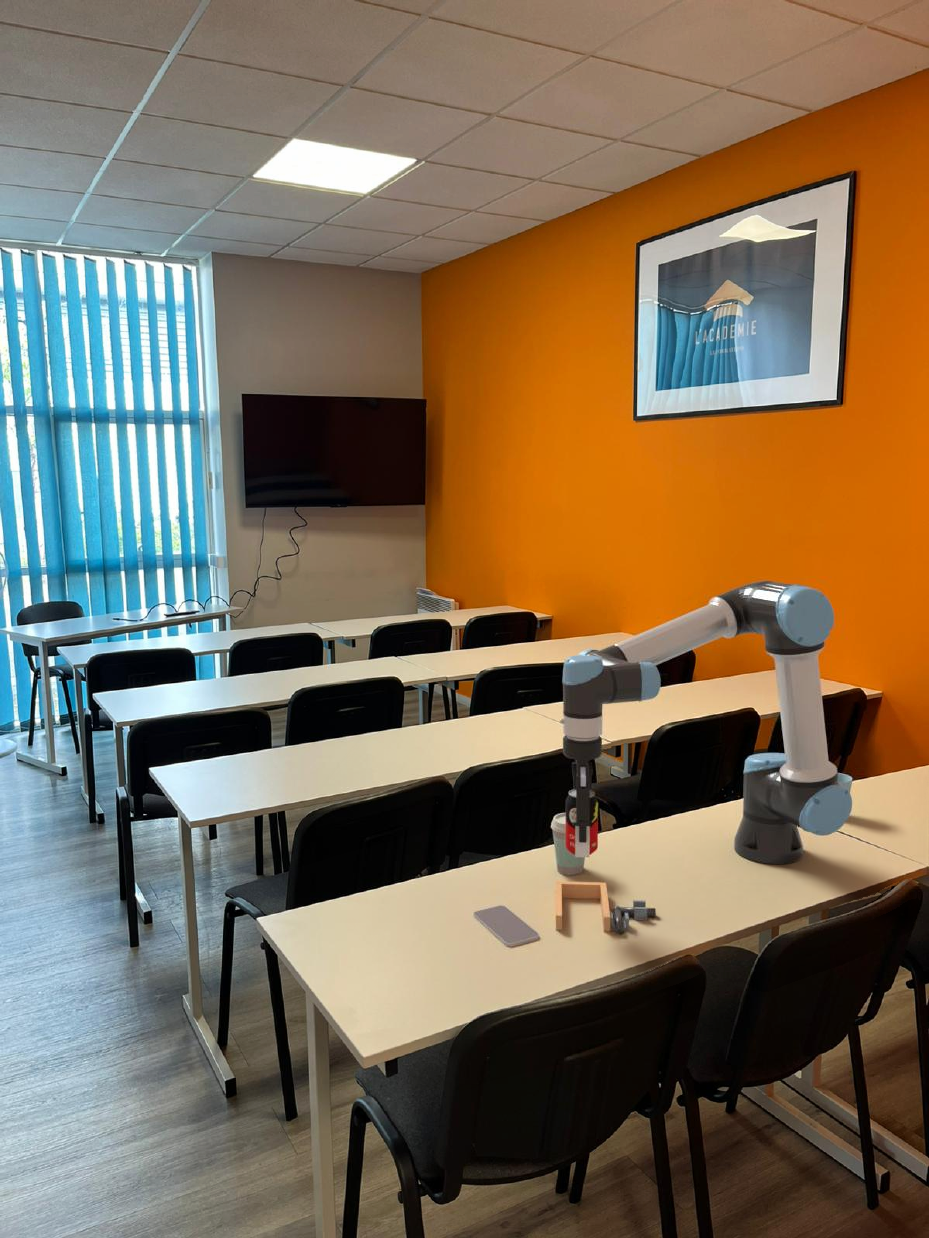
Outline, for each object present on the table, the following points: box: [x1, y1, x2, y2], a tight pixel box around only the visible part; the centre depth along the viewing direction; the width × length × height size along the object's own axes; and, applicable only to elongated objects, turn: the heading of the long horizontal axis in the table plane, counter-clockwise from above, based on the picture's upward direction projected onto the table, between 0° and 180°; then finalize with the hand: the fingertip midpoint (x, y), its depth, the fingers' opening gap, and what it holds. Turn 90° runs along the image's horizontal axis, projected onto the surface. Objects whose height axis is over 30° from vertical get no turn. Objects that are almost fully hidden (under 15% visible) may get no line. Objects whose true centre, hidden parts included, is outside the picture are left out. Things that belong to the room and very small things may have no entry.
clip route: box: [610, 899, 657, 936], centre depth 176 cm, size 9×10×2 cm
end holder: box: [555, 880, 611, 933], centre depth 180 cm, size 10×15×3 cm
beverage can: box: [565, 788, 599, 856], centre depth 176 cm, size 6×6×12 cm
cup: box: [837, 772, 853, 794], centre depth 229 cm, size 8×8×10 cm
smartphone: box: [472, 904, 540, 948], centre depth 175 cm, size 7×1×15 cm
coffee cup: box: [550, 812, 586, 876], centre depth 200 cm, size 9×8×12 cm
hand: (581, 849), depth 177 cm, fingers closed on beverage can, 6 cm apart
